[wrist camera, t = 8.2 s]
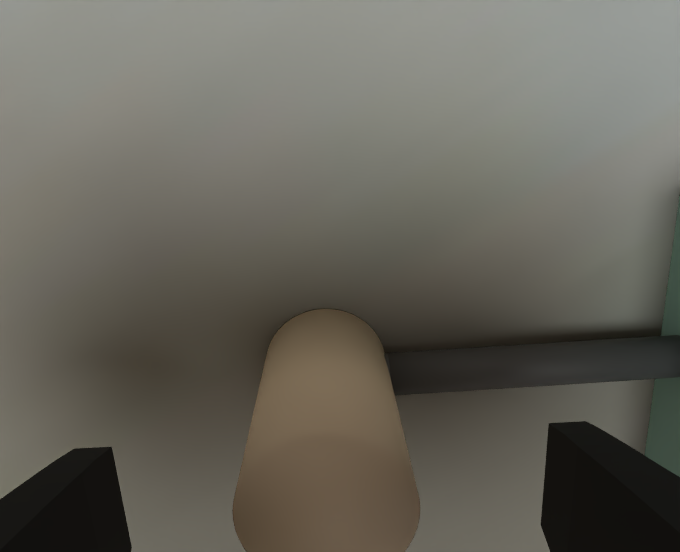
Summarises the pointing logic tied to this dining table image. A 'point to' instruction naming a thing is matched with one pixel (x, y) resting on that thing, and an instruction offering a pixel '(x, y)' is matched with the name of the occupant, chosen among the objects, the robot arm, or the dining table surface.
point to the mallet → (385, 425)
